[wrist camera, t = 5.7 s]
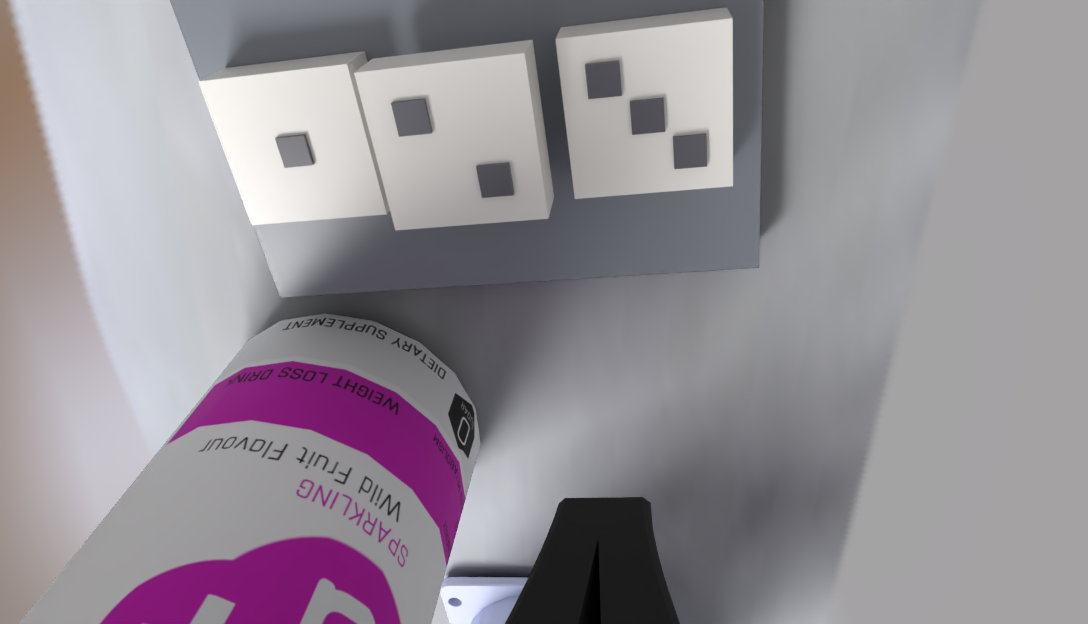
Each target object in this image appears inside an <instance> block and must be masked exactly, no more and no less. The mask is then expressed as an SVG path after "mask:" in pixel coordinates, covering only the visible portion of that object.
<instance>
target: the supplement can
mask: <svg viewBox="0 0 1088 624" xmlns="http://www.w3.org/2000/svg"><path fill="white" fill-rule="evenodd" d="M480 444H481V442H480V435H479V428H478V421H477V414H476V408H475V407H474V405H473V403H472V401H471V400H470V398H469V396H468V395H467V393H466V391H465V390H464V388H463V386H462V385H461V383H460V381H459V379H458V378H457V376H456V374H455V373H454V372H453V371H452V370H451V369H450V368H448V367H447V366H446V365H445V364H444V363H443V362H441V361H440V360H439V359H438V358H437V357H436V356H435V355H433V354H432V353H431V352H430V351H429V350H428V349H427V348H425V347H424V346H423V345H422V344H421V343H420V342H418V341H416V340H414V339H411V338H409V337H407V336H405V335H403V334H401V333H399V332H396V331H394V330H392V329H390V328H388V327H386V326H384V325H381V324H379V323H377V322H375V321H371V320H364V319H358V318H352V317H345V316H339V315H333V314H327V313H324V314H318V315H312V316H305V317H299V318H292V319H286V320H281V321H279V322H278V323H276V324H274V325H273V326H271V327H269V328H268V329H266V330H264V331H263V332H261V333H259V334H258V335H256V336H254V337H253V338H251V339H249V340H248V341H247V343H246V344H245V345H244V346H243V348H242V349H241V350H240V351H239V352H238V354H237V355H236V356H235V357H234V359H233V360H232V361H231V362H230V364H229V365H228V366H227V367H226V369H225V370H224V371H223V372H222V373H221V375H220V376H219V377H218V378H217V380H216V381H215V382H214V383H213V385H212V386H211V387H210V388H209V389H208V391H207V392H206V393H205V394H204V396H203V397H202V398H201V399H200V401H199V402H198V403H197V404H196V406H195V407H194V408H193V409H192V410H191V412H190V413H189V414H188V415H187V417H186V418H185V419H184V420H183V422H182V423H181V424H180V425H179V427H178V428H177V429H176V430H175V431H174V433H173V434H172V435H171V436H170V438H169V439H168V440H167V441H166V443H165V444H164V445H163V446H162V448H161V449H160V450H159V451H158V452H157V454H156V455H155V456H154V457H153V459H152V460H151V461H150V462H149V464H148V465H147V466H146V467H145V469H144V470H143V471H142V472H141V473H140V475H139V476H138V477H137V478H136V480H135V481H134V482H133V484H132V485H131V486H130V487H129V488H128V490H127V491H126V492H125V493H124V494H123V496H122V497H121V498H120V499H119V501H118V502H117V503H116V504H115V506H114V507H113V508H112V509H111V510H110V512H109V513H108V514H107V515H106V517H105V518H104V519H103V521H102V522H101V523H100V524H99V526H98V527H97V528H96V529H95V530H94V531H93V533H92V534H91V535H90V536H89V538H88V539H87V540H86V541H85V543H84V544H83V545H82V546H81V548H80V549H79V550H78V551H77V553H76V554H75V555H74V556H73V557H72V559H71V560H70V561H69V562H68V564H67V565H66V566H65V567H64V569H63V570H62V571H61V572H60V573H59V575H58V576H57V577H56V578H55V580H54V581H53V582H52V583H51V585H50V586H49V587H48V588H47V590H46V591H45V592H44V593H43V594H42V596H41V597H40V598H39V599H38V601H37V602H36V603H35V604H34V606H33V607H32V608H31V609H30V610H29V612H28V613H27V614H26V616H25V617H24V618H23V619H22V620H21V622H20V623H19V624H431V622H432V618H433V615H434V611H435V608H436V604H437V600H438V597H439V593H440V589H441V586H442V582H443V579H444V575H445V571H446V568H447V564H448V560H449V557H450V553H451V550H452V546H453V542H454V539H455V535H456V531H457V528H458V524H459V521H460V517H461V513H462V510H463V506H464V502H465V499H466V495H467V492H468V488H469V484H470V481H471V477H472V473H473V470H474V466H475V463H476V459H477V455H478V452H479V448H480Z"/></svg>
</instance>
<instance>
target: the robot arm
mask: <svg viewBox="0 0 1088 624" xmlns="http://www.w3.org/2000/svg"><path fill="white" fill-rule="evenodd" d="M440 594H441V597H442V600H443V604H444V607H445V610H446V613H447V616H448V619H449V623H450V624H680V623H679V620H678V617H677V614H676V611H675V608H674V606H673V603H672V600H671V597H670V594H669V591H668V588H667V585H666V581H665V578H664V575H663V571H662V567H661V564H660V560H659V556H658V552H657V548H656V543H655V539H654V533H653V526H652V514H651V503H650V502H649V501H647V500H646V499H645V498H643V497H627V498H565V499H564V500H563V501H561V502H560V503H559V505H558V508H557V511H556V514H555V517H554V520H553V522H552V525H551V527H550V530H549V533H548V535H547V537H546V540H545V542H544V545H543V547H542V549H541V551H540V554H539V556H538V558H537V560H536V562H535V565H534V567H533V569H532V571H531V573H530V575H529V577H448V578H446V579H444V580H443V582H442V586H441V589H440Z"/></svg>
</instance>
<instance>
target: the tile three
mask: <svg viewBox="0 0 1088 624" xmlns="http://www.w3.org/2000/svg"><path fill="white" fill-rule="evenodd" d="M555 40H556V49H557V57H558V65H559V73H560V81H561V90H562V98H563V106H564V114H565V123H566V131H567V139H568V147H569V155H570V164H571V172H572V180H573V188H574V196H575V199H582V198H594V197H606V196H619V195H631V194H644V193H656V192H668V191H681V190H693V189H706V188H718V187H730V186H733V18H732V16H731V14H730V12H729V10H728V9H727V7H725V8H716V9H708V10H700V11H692V12H683V13H675V14H667V15H658V16H650V17H642V18H634V19H625V20H617V21H609V22H601V23H592V24H584V25H576V26H567V27H561V28H560V30H559V33H558V35H557V37H556V39H555Z"/></svg>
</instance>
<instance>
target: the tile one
mask: <svg viewBox="0 0 1088 624" xmlns="http://www.w3.org/2000/svg"><path fill="white" fill-rule="evenodd" d="M367 62H368V61H367V58H366V54H365V51H361V52H353V53H345V54H336V55H328V56H320V57H312V58H303V59H295V60H287V61H278V62H270V63H262V64H254V65H245V66H237V67H229V68H223V69H221V70H220V71H218V72H216V73H214V74H212V75H210V76H208V77H206V78H204V79H202V80H200V81H198V82H199V85H200V88H201V90H202V93H203V96H204V99H205V101H206V104H207V107H208V109H209V112H210V115H211V117H212V120H213V123H214V125H215V128H216V131H217V133H218V136H219V139H220V142H221V144H222V147H223V150H224V152H225V155H226V158H227V160H228V163H229V166H230V168H231V171H232V174H233V176H234V179H235V182H236V185H237V187H238V190H239V193H240V195H241V198H242V201H243V203H244V206H245V209H246V211H247V214H248V217H249V219H250V222H251V225H262V224H274V223H287V222H299V221H312V220H324V219H336V218H349V217H361V216H374V215H386V214H388V212H389V211H390V208H389V204H388V201H387V197H386V193H385V189H384V185H383V181H382V178H381V174H380V170H379V166H378V162H377V159H376V155H375V151H374V147H373V143H372V140H371V136H370V132H369V128H368V124H367V121H366V117H365V113H364V109H363V105H362V102H361V98H360V94H359V90H358V86H357V83H356V79H355V75H354V72H356V71H357V70H358V69H360V68H361V67H362V66H364V65H365V64H366V63H367Z"/></svg>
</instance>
